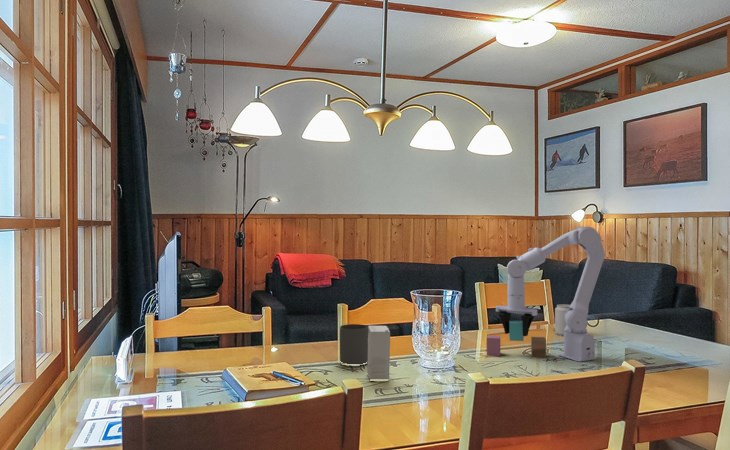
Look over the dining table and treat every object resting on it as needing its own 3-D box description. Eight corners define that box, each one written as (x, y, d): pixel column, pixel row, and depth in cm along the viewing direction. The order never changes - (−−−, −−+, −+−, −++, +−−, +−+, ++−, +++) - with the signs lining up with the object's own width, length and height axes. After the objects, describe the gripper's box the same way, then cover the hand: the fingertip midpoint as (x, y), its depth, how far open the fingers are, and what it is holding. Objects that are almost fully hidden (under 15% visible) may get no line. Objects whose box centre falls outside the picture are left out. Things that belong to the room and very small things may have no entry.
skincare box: (366, 374, 168) (366, 325, 168) (386, 374, 168) (386, 324, 168) (369, 382, 159) (369, 330, 159) (390, 382, 160) (390, 330, 160)
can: (571, 333, 230) (571, 303, 230) (577, 336, 222) (576, 306, 222) (553, 332, 230) (553, 303, 230) (557, 336, 223) (557, 306, 223)
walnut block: (546, 357, 188) (546, 339, 188) (532, 357, 189) (532, 339, 189) (544, 354, 193) (544, 337, 193) (531, 353, 194) (531, 336, 194)
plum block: (500, 356, 191) (500, 338, 191) (486, 355, 192) (486, 337, 192) (500, 353, 195) (500, 335, 195) (487, 352, 196) (486, 335, 196)
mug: (370, 366, 177) (370, 328, 177) (342, 368, 176) (342, 329, 176) (362, 356, 191) (362, 321, 191) (335, 357, 189) (335, 322, 189)
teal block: (523, 341, 190) (523, 323, 190) (509, 340, 191) (509, 322, 190) (522, 338, 194) (522, 321, 194) (509, 337, 195) (509, 320, 195)
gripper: (541, 295, 190) (541, 335, 190) (502, 292, 200) (502, 330, 200) (532, 297, 185) (532, 338, 185) (492, 294, 195) (492, 333, 195)
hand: (516, 334), depth 192 cm, fingers closed on teal block, 6 cm apart
